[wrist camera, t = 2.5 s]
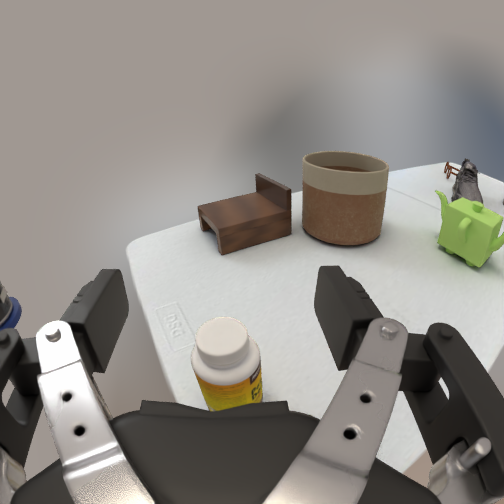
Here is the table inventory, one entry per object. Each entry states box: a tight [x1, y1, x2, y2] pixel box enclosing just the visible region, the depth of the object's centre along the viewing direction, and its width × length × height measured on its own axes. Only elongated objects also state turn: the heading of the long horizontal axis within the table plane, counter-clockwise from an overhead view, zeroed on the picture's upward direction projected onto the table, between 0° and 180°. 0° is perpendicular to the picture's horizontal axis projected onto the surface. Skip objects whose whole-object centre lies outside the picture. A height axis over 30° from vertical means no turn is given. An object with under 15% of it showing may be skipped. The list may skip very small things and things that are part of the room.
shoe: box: [452, 159, 483, 204], centre depth 63 cm, size 10×27×12 cm, turn 146°
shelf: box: [198, 173, 291, 255], centre depth 54 cm, size 14×12×9 cm
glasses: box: [444, 162, 460, 179], centre depth 83 cm, size 13×13×5 cm
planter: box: [302, 151, 389, 245], centre depth 52 cm, size 16×16×14 cm
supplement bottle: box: [191, 317, 263, 411], centre depth 23 cm, size 6×6×10 cm
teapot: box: [435, 191, 504, 268], centre depth 42 cm, size 15×13×11 cm
